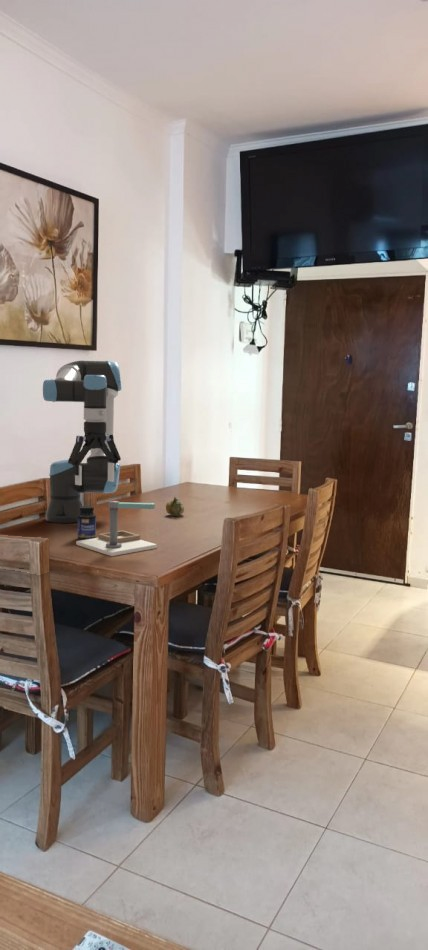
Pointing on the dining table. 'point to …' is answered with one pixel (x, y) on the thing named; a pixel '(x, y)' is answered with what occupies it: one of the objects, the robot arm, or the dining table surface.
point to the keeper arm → (130, 505)
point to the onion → (175, 507)
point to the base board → (116, 551)
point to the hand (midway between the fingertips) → (95, 483)
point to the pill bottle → (86, 523)
